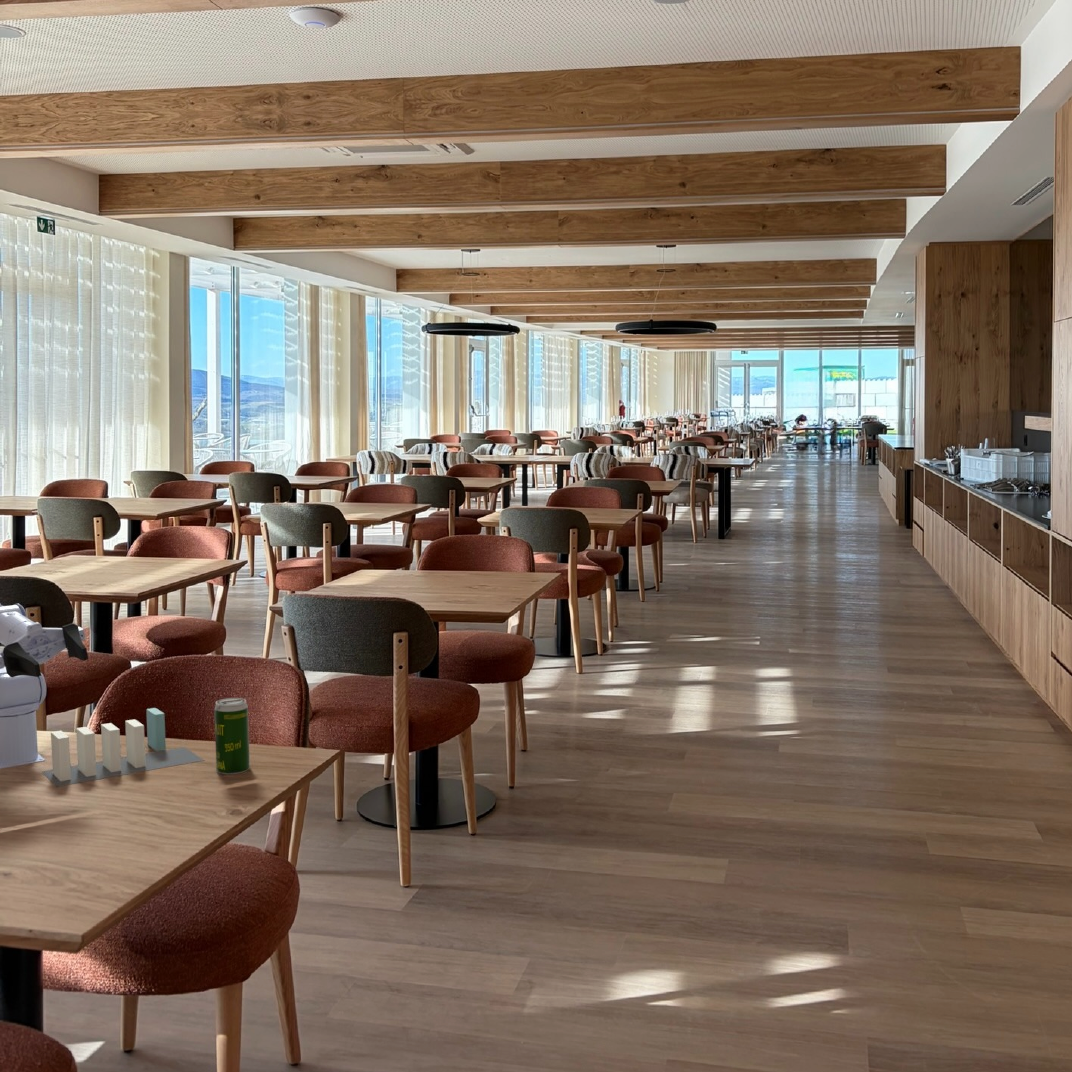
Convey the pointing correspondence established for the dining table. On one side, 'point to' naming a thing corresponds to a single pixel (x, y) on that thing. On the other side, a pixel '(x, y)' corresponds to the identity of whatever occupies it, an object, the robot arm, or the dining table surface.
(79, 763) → the ivory domino
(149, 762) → the charcoal mat
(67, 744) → the ivory domino
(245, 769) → the green drink can
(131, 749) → the ivory domino
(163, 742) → the teal domino
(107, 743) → the ivory domino
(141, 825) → the dining table surface
